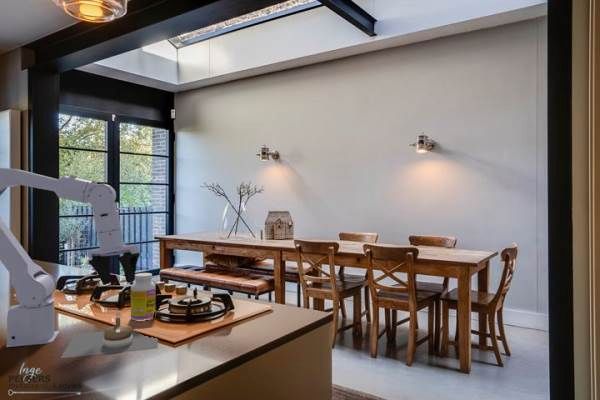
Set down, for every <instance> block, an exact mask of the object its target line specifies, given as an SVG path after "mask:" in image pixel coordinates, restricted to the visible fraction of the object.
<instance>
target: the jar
mask: <svg viewBox="0 0 600 400" xmlns="http://www.w3.org/2000/svg"><path fill="white" fill-rule="evenodd" d="M131 343H132V335H131V336H130V337H128V338H126V339H122V340H116V341H110V340H106V339H104V338H103V346H104V347H106V348H120V347H124V346H127V345H130V344H131Z"/></svg>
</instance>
